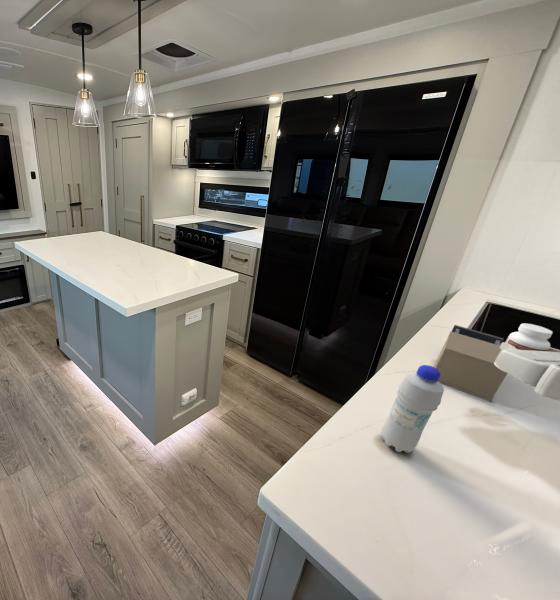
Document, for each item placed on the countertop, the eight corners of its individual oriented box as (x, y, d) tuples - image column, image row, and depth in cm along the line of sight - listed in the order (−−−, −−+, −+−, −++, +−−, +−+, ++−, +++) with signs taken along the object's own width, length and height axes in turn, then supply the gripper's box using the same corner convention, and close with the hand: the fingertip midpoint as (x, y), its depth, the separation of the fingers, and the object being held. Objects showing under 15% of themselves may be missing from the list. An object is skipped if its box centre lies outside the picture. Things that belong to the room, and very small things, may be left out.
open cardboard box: (436, 359, 99) (450, 331, 95) (490, 378, 91) (508, 348, 87) (430, 378, 90) (445, 347, 85) (490, 401, 82) (510, 368, 77)
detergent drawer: (444, 343, 108) (455, 320, 104) (490, 357, 100) (503, 333, 97) (438, 362, 96) (450, 338, 93) (489, 380, 89) (504, 354, 85)
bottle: (370, 434, 69) (401, 360, 61) (391, 428, 71) (425, 356, 63) (399, 460, 63) (438, 381, 55) (422, 452, 65) (463, 375, 57)
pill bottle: (537, 382, 67) (565, 338, 63) (499, 372, 70) (523, 330, 66) (523, 367, 72) (549, 326, 68) (488, 359, 75) (511, 319, 71)
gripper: (667, 375, 55) (576, 336, 68) (550, 368, 56) (481, 331, 69) (644, 402, 58) (560, 360, 71) (532, 396, 58) (469, 355, 71)
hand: (520, 346), depth 70 cm, fingers closed on pill bottle, 6 cm apart
